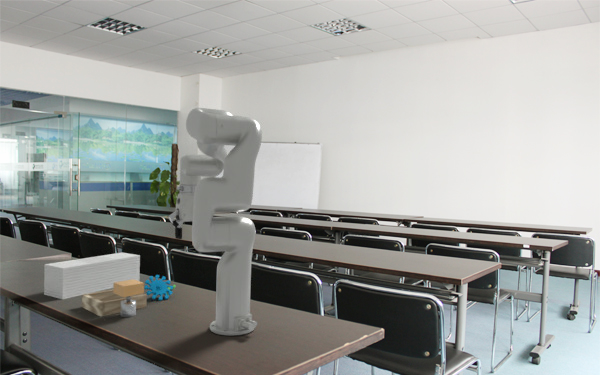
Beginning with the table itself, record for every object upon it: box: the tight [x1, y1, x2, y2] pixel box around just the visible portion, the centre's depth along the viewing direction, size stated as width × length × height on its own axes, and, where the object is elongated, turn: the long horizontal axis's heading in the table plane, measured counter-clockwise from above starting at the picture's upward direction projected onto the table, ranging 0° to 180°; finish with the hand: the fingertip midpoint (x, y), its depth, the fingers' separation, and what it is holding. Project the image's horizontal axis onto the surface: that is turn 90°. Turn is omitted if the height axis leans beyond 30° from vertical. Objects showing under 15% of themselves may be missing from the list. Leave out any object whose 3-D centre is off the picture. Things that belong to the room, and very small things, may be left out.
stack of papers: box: [43, 252, 141, 300], centre depth 168 cm, size 32×11×11 cm, turn 150°
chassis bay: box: [81, 288, 148, 318], centre depth 144 cm, size 13×15×4 cm
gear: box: [144, 274, 176, 302], centre depth 157 cm, size 11×6×10 cm
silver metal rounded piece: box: [119, 296, 137, 318], centre depth 137 cm, size 4×4×6 cm
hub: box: [112, 279, 145, 297], centre depth 136 cm, size 6×6×3 cm
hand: (189, 237), depth 164 cm, fingers open, 8 cm apart
